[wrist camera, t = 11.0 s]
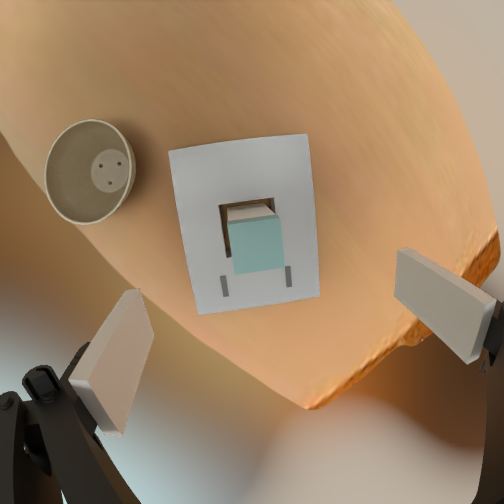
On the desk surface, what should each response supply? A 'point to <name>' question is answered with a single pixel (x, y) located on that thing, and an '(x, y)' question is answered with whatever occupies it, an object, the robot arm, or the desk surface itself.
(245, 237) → the block
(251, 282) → the outlet plate
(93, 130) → the flower pot
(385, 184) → the desk surface
